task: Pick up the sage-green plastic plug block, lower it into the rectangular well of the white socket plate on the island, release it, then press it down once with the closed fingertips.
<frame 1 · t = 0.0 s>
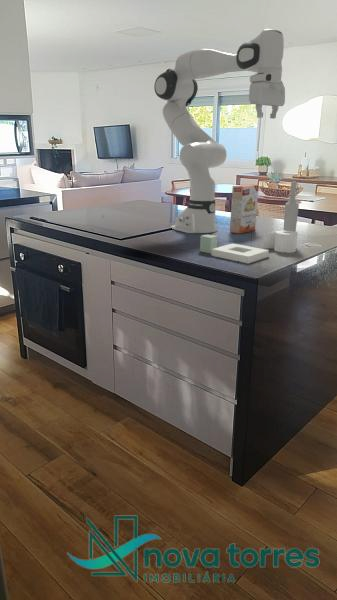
hand: (266, 118, 173), 48 cm above the table, tool pointing down, fingers open, 8 cm apart
socket plate: (239, 256, 163), on the table
toilet paper: (280, 250, 174), on the table
bottle: (288, 246, 180), on the table
cracker box: (242, 231, 207), on the table
plug: (208, 251, 170), on the table
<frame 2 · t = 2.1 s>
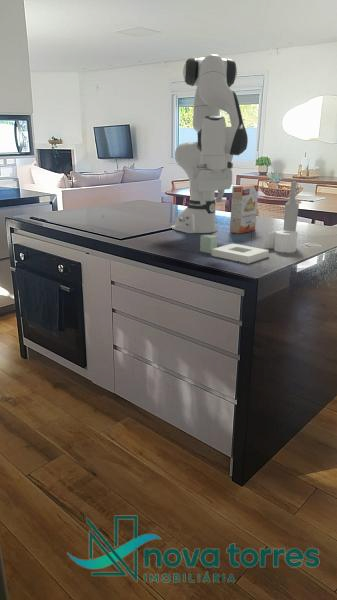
hand: (211, 203, 164), 18 cm above the table, tool pointing down, fingers open, 8 cm apart
nothing on the table moved.
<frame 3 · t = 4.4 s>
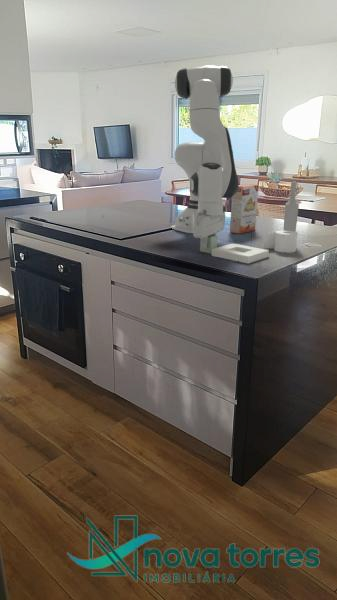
hand: (208, 245, 169), 2 cm above the table, tool pointing down, fingers closed on plug, 4 cm apart
plug: (208, 251, 170), on the table, touching gripper
everything else where it was.
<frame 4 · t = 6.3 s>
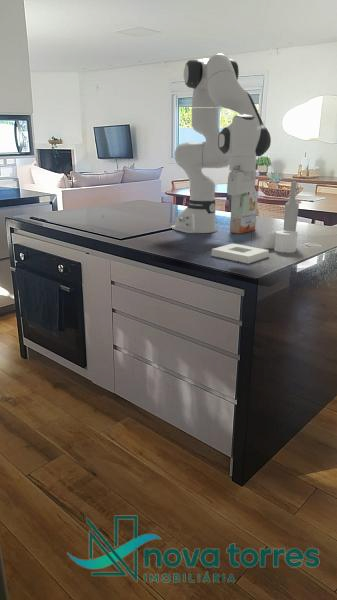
hand: (240, 206, 157), 18 cm above the table, tool pointing down, fingers closed on plug, 4 cm apart
plug: (239, 212, 158), point 16 cm above the table, touching gripper
everything else where it was.
when the fingers open (4 cm above the table, at t = 8.6 s): plug drops 1 cm, resting on socket plate.
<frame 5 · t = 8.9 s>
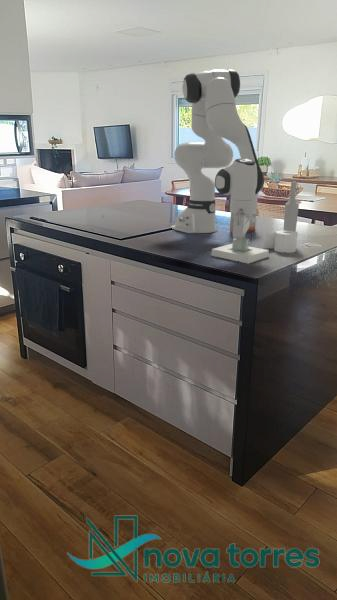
hand: (240, 245, 162), 4 cm above the table, tool pointing down, fingers open, 7 cm apart
plug: (239, 255, 163), resting on socket plate
everything else where it was.
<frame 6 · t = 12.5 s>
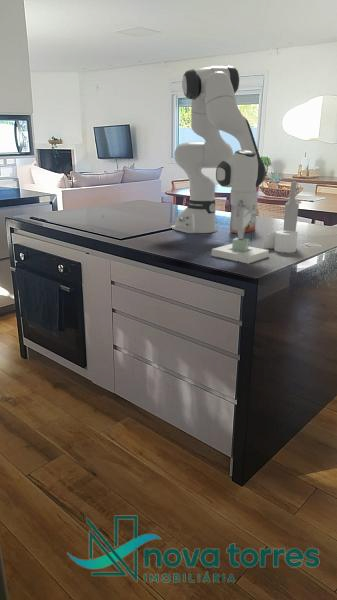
hand: (240, 238, 161), 7 cm above the table, tool pointing down, fingers closed
nothing on the table moved.
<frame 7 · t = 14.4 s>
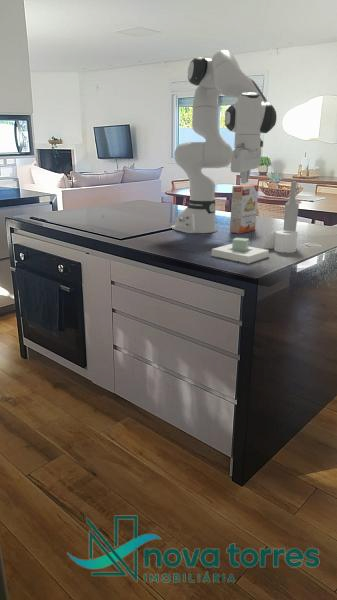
hand: (244, 183, 163), 25 cm above the table, tool pointing down, fingers closed
nothing on the table moved.
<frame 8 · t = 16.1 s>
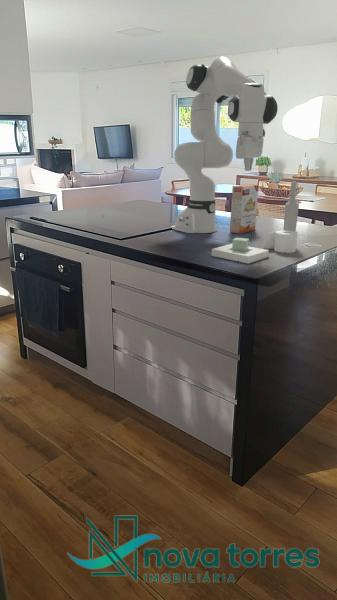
hand: (248, 170, 168), 29 cm above the table, tool pointing down, fingers closed
nothing on the table moved.
at the end: plug 0.1 cm off-centre on the socket plate, point 0.3 cm above the socket plate's base; plug tilted 0°; the gripper is holding nothing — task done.
